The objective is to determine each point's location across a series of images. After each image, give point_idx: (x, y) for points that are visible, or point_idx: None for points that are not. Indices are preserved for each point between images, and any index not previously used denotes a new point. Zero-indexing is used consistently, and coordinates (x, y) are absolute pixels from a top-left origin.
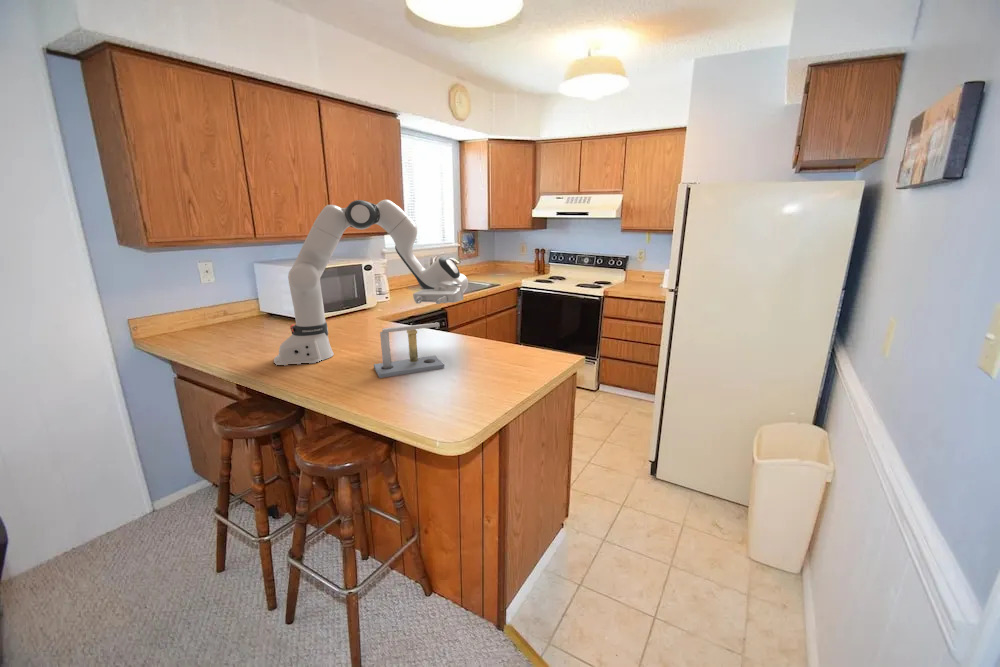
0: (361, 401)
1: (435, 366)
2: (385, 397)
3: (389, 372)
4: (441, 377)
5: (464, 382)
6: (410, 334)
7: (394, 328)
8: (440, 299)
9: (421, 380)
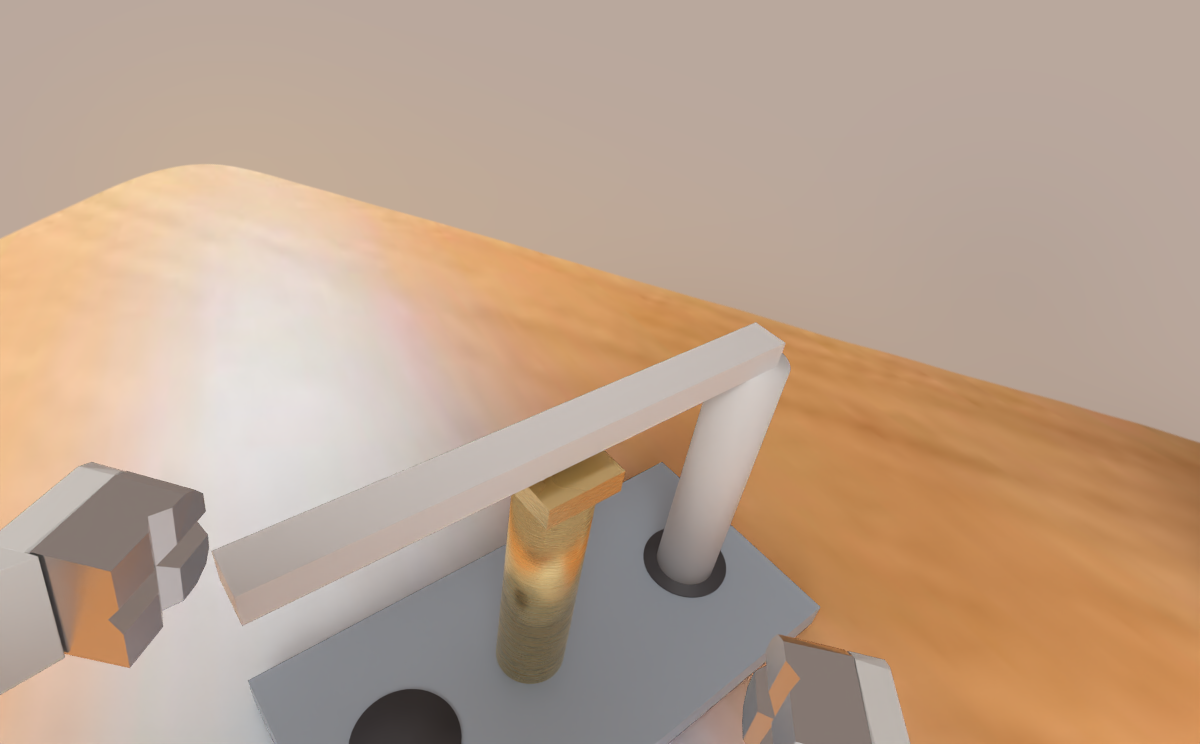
0: (583, 303)
1: (327, 642)
2: (506, 327)
3: None
4: None
5: None
6: None
7: (686, 352)
8: (21, 536)
9: None
